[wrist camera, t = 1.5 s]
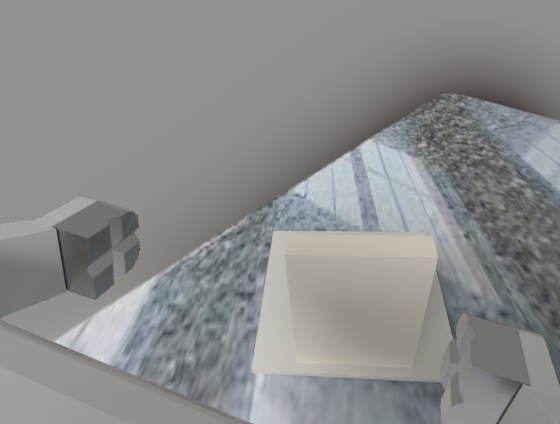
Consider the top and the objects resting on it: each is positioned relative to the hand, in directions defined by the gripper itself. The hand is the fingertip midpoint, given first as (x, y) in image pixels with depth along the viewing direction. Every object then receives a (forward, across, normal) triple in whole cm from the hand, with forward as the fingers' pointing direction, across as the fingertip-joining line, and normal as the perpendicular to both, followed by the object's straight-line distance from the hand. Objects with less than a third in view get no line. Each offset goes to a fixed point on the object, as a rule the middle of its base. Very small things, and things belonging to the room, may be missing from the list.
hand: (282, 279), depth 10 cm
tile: (+20, -3, +22) cm, 30 cm away
